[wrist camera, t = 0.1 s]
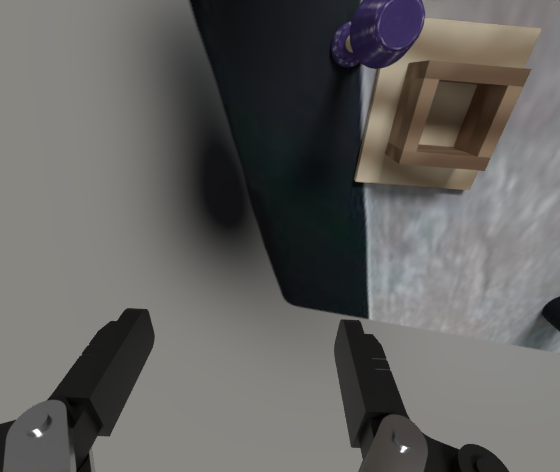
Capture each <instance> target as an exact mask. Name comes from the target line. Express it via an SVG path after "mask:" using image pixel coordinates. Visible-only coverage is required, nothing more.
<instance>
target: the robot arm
mask: <svg viewBox="0 0 560 472" xmlns="http://www.w3.org/2000/svg"><path fill="white" fill-rule="evenodd" d="M154 338H155V337H154V330H153V327H152V323H151V319H150V315H149V311H148V310H147V309H133V308H127V309H126V310H124V312H123V313H122V315H121V316H120V317H119V319H118V320H117V321H110V322H109V323H108V324H107V325H105V326H104V327H103V328H102V329H100V330H99V331H98V332H97V334H96V335H95V336H94V338H93V339H92V340H91V342H90V343H89V346H87V347H86V349H85V350H84V351H83V353H82V356H80V357H79V358H78V359H77V361H76V363H75V364H74V365H73V366H72V368H71V369H70V370H69V372H68V373H67V375H66V376H65V377H64V379H63V380H62V382H61V383H60V384H59V385H58V387H57V388H56V389H55V391H54V392H53V394H52V395H51V396H50V397H49V398H48V400H47V401H44V402H41V403H39V404H37V405H35V406H33V407H32V408H30V409H28V410H27V411H26V412H24V413H23V414H22V415H21V416H20V417H19V418H18V419H17V420H14V421H10V422H6V423H3V424H0V472H95V467H94V460H93V452H92V448H91V447H92V445H93V443H94V441H95V439H96V437H97V436H110V434H111V432H112V430H113V428H114V426H115V424H116V422H117V420H118V418H119V416H120V413H121V412H122V409H123V408H124V405H125V403H126V401H127V399H128V397H129V395H130V393H131V391H132V389H133V387H134V385H135V383H136V381H137V379H138V376H139V375H140V372H141V370H142V368H143V366H144V364H145V362H146V360H147V358H148V356H149V354H150V352H151V350H152V348H153V344H154ZM334 353H335V362H336V367H337V372H338V378H339V384H340V389H341V394H342V400H343V405H344V411H345V416H346V422H347V427H348V432H349V438H350V443H351V447H353V448H361V453H362V458H363V461H362V464H361V466H360V469H359V471H358V472H509V471H508V470H507V468H506V467H505V465H504V464H503V463H502V462H501V461H500V459H498V458H497V457H496V456H495V455H494V454H493V453H492V452H490V451H489V450H487V449H485V448H483V447H481V446H479V445H475V444H467V445H464V446H463V447H462V448H461V449H460V450H459V449H457V448H454V447H451V446H449V445H446V444H444V443H441V442H439V441H436V440H434V439H432V438H430V437H428V436H426V435H425V434H424V433H422V432H421V431H420V429H419V428H418V427H417V426H416V425H415V424H414V423H413V422H412V421H411V420H410V419H409V417H408V415H407V413H406V410H405V408H404V405H403V402H402V399H401V397H400V394H399V391H398V389H397V386H396V383H395V380H394V378H393V375H392V372H391V371H390V367H389V364H388V361H387V360H386V356H385V353H384V350H383V348H382V345H381V344H380V343H379V342H378V340H377V339H376V338H375V337H374V336H373V334H364V331H363V328H362V325H361V322H360V321H359V320H341V321H340V324H339V328H338V332H337V336H336V340H335V346H334Z"/></svg>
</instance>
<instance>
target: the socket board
mask: <svg viewBox="0 0 560 472" xmlns="http://www.w3.org/2000/svg"><path fill="white" fill-rule="evenodd" d="M541 30H542V29H539V28H528V27H517V26H507V25H496V24H485V23H474V22H464V21H453V20H442V19H431V18H425V20H424V26H423V29H422V31H421V33H420V35H419V37H418V39H417V40H416V42H415V43H414V44H413V45H412V47H411V48H410V49H409V50H408V51H407V53H406V54H405V55H404V56H403V57H402V58H401V59H400V60H398V61H397V62H395V63H394V64H392V65H390V66H388V67H385V68H380V69H378V71H377V75H376V80H375V84H374V89H373V94H372V98H371V103H370V107H369V112H368V117H367V121H366V126H365V130H364V135H363V140H362V144H361V149H360V153H359V158H358V163H357V167H356V172H355V176H354V180H355V182H367V183H381V184H394V185H407V186H420V187H433V188H447V189H460V190H470V188H471V186H472V184H473V181H474V179H475V177H476V175H477V172H478V170H480V171H485V169H486V167H487V164H488V162H489V160H490V158H491V156H492V154H493V151H494V149H495V147H496V145H497V143H498V141H499V138H500V136H501V134H502V132H503V130H504V128H505V125H506V123H507V121H508V119H509V117H510V115H511V112H512V110H513V108H514V106H515V104H516V101H517V99H518V97H519V95H520V93H521V91H522V88H523V86H524V84H525V82H526V80H527V78H528V75H529V73H530V71H531V69H524V68H525V65H526V63H527V61H528V59H529V56H530V54H531V52H532V50H533V47H534V45H535V43H536V41H537V39H538V36H539V34H540V32H541Z"/></svg>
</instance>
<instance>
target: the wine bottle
mask: <svg viewBox="0 0 560 472" xmlns="http://www.w3.org/2000/svg"><path fill="white" fill-rule="evenodd" d="M542 314H543V316H544V318H545V319H547V320H548V321H549V322H550V323H551V324H552V325H553V326H554V327H555V328H556V329H558V330H559V331H560V297H558V298H555V299H554V300H552V301H550V302H549V303H548V304H547V305H546V306H545V307H544V309H543V313H542Z"/></svg>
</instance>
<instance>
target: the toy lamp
mask: <svg viewBox="0 0 560 472" xmlns="http://www.w3.org/2000/svg"><path fill="white" fill-rule="evenodd" d="M424 20H425V10H424V5H423V2H422V0H363V1H362V3H361V4H360V5H359V7H358V8H357V10H356V12H355V14H354V17H353V19H352V21H351V22H347V23H345V24H343V25H341V26H340V27H339V28H338V29H337V30H336V32H335V34H334V36H333V38H332V41H331V53H332V57H333V59H334V61H335V62H336V63H337V64H338V65H340V66H341V67H345V68H350V67H354V66H356V65H358V64H359V63H361V64H363V65H365V66H367V67H369V68H374V69H380V68H385V67H388V66H390V65H392V64H394V63H395V62H397V61H398V60H400V59H401V58H402V57H403V56H404V55H405V54H406V53H407V51H408V50H409V49H410V48H411V47H412V45H413V44H414V43H415V42H416V40H417V39H418V37H419V35H420V33H421V31H422V29H423V26H424Z"/></svg>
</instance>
